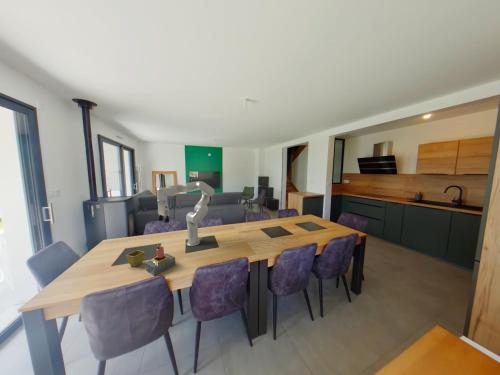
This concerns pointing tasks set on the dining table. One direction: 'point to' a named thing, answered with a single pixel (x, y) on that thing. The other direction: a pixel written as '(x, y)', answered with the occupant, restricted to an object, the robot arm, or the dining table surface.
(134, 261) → the flower pot
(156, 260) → the grey box with hole
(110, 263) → the dining table surface
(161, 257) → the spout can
